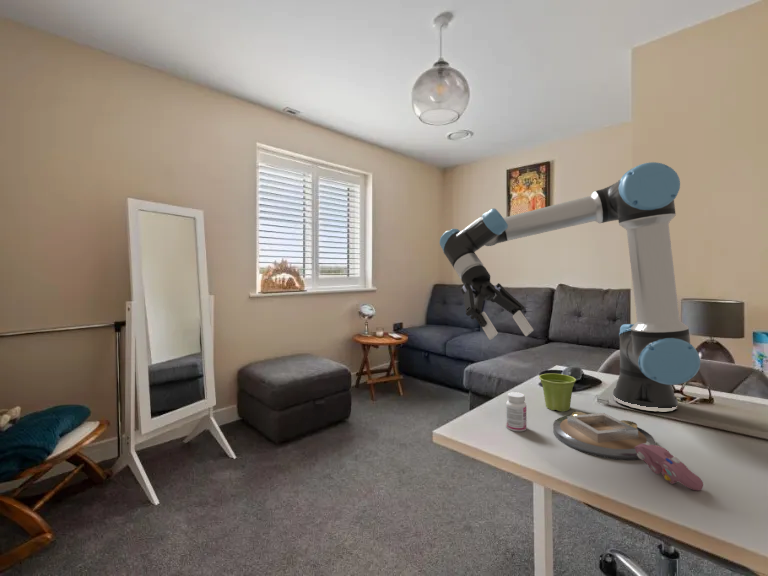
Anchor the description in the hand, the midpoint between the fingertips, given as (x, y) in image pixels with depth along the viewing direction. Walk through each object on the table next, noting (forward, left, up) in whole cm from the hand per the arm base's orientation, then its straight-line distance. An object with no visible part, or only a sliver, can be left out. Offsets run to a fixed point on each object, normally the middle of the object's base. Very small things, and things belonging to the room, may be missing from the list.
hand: (512, 334), depth 90 cm
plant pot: (-18, -8, -23) cm, 30 cm away
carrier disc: (-16, +11, -23) cm, 30 cm away
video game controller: (-15, +27, -23) cm, 39 cm away
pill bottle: (0, +2, -23) cm, 23 cm away
